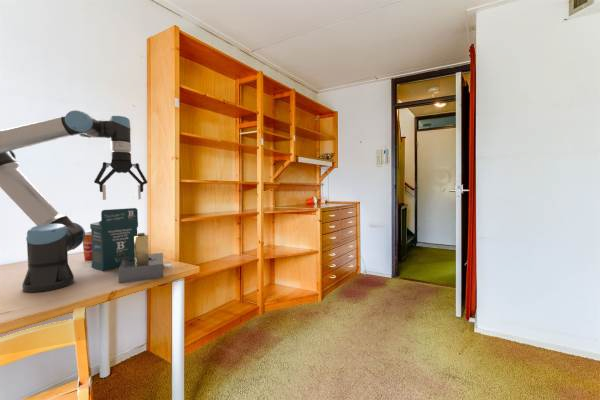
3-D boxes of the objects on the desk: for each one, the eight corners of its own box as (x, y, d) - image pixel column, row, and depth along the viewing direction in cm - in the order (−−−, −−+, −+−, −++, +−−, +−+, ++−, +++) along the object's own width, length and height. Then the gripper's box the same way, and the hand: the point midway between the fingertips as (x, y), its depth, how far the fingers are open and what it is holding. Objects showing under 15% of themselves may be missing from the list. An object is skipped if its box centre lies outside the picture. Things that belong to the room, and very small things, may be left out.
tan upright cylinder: (134, 266, 118) (133, 234, 118) (135, 263, 123) (134, 232, 123) (148, 264, 121) (147, 233, 120) (149, 261, 125) (148, 232, 125)
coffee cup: (78, 260, 150) (77, 231, 150) (93, 256, 158) (92, 229, 157) (90, 261, 148) (89, 232, 147) (105, 257, 156) (104, 230, 155)
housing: (118, 283, 116) (118, 268, 115) (125, 268, 136) (124, 256, 135) (163, 277, 123) (162, 263, 122) (163, 265, 142) (162, 252, 142)
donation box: (102, 271, 131) (101, 210, 130) (87, 266, 140) (85, 208, 139) (139, 263, 145) (137, 207, 143) (122, 259, 154) (121, 206, 152)
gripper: (85, 149, 121) (86, 200, 122) (152, 152, 131) (153, 199, 132) (89, 151, 127) (90, 199, 128) (152, 154, 138) (153, 198, 139)
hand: (122, 199), depth 130 cm, fingers open, 13 cm apart
